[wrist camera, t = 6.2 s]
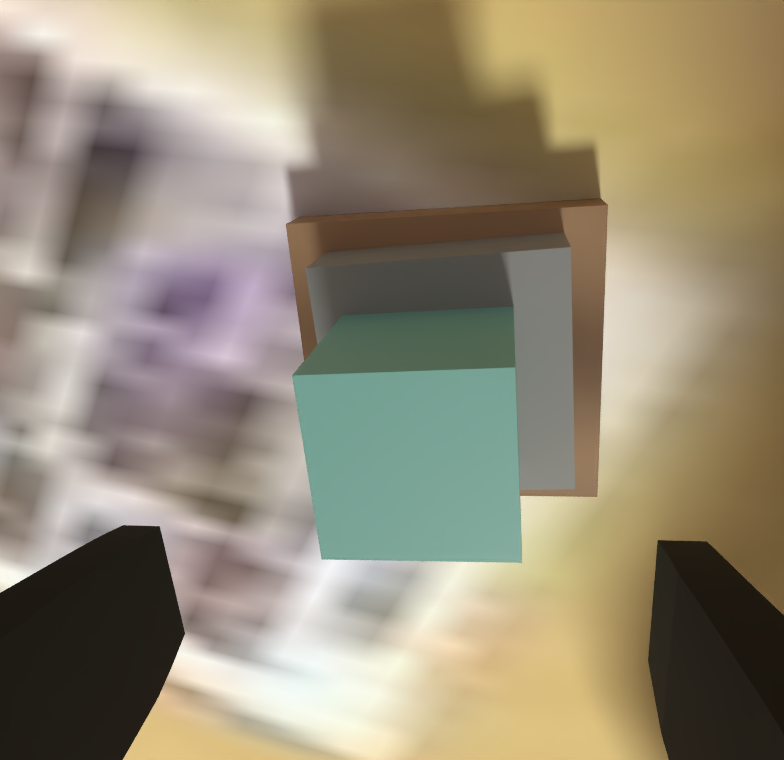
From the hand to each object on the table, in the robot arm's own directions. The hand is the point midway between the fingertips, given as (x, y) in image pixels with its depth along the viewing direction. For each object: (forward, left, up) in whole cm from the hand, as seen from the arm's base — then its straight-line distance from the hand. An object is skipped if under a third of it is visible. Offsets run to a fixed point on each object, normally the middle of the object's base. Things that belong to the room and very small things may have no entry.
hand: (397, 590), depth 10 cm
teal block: (0, 0, -7) cm, 7 cm away
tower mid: (0, 0, -9) cm, 9 cm away
